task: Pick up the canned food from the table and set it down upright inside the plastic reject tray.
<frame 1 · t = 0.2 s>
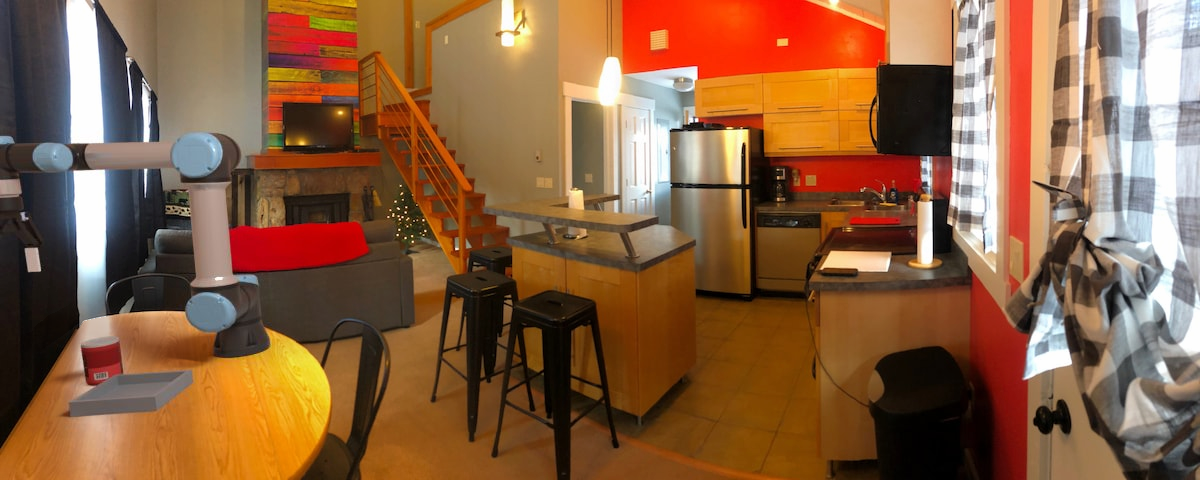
hand: (14, 276, 165), 28 cm above the table, fingers open, 13 cm apart
canned food: (105, 381, 166), on the table
reject tray: (136, 398, 154), on the table
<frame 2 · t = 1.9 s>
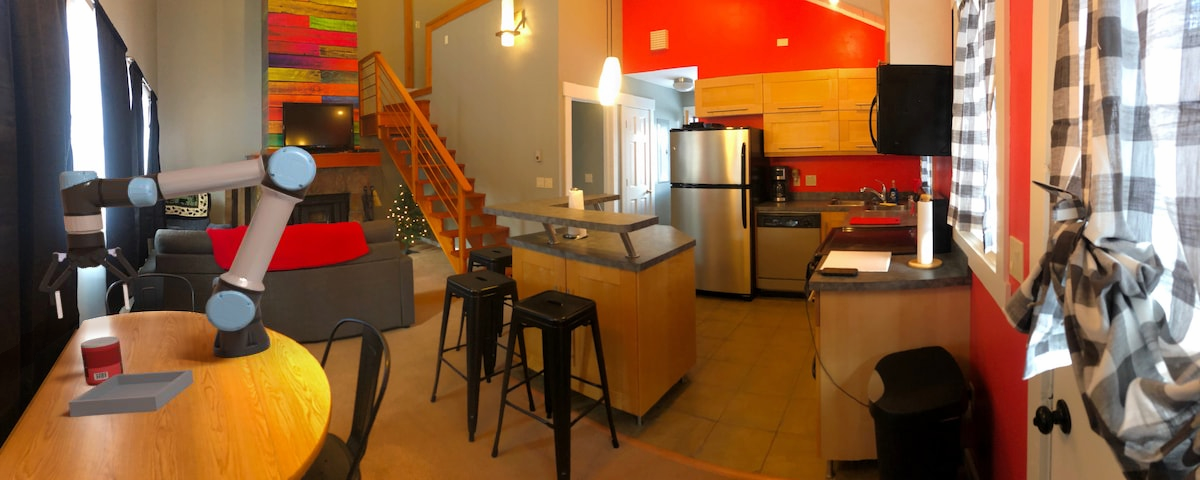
hand: (94, 312, 163), 19 cm above the table, fingers open, 13 cm apart
nothing on the table moved.
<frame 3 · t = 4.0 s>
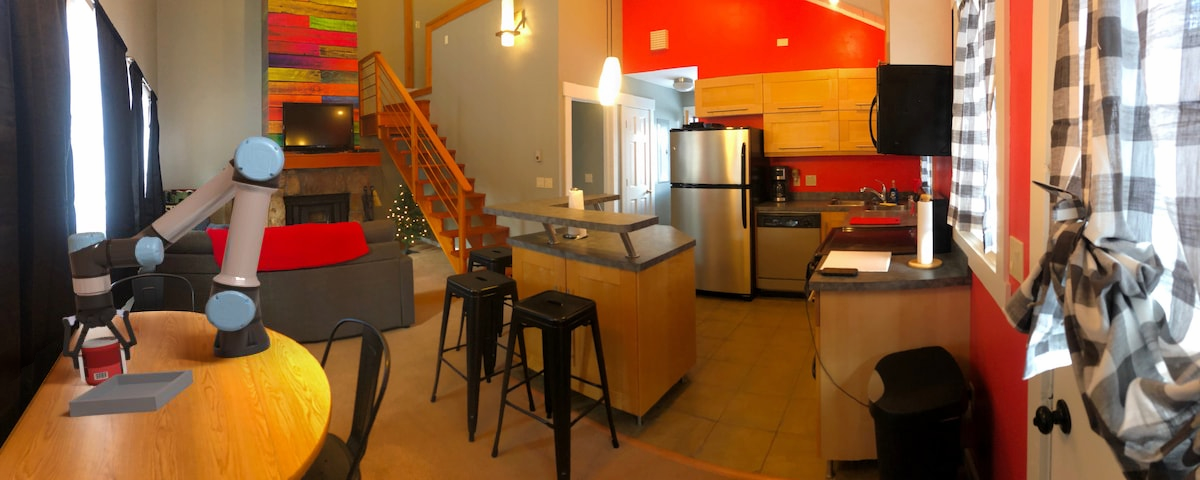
hand: (104, 376, 166), 1 cm above the table, fingers closed on canned food, 8 cm apart
canned food: (105, 381, 166), on the table, touching gripper
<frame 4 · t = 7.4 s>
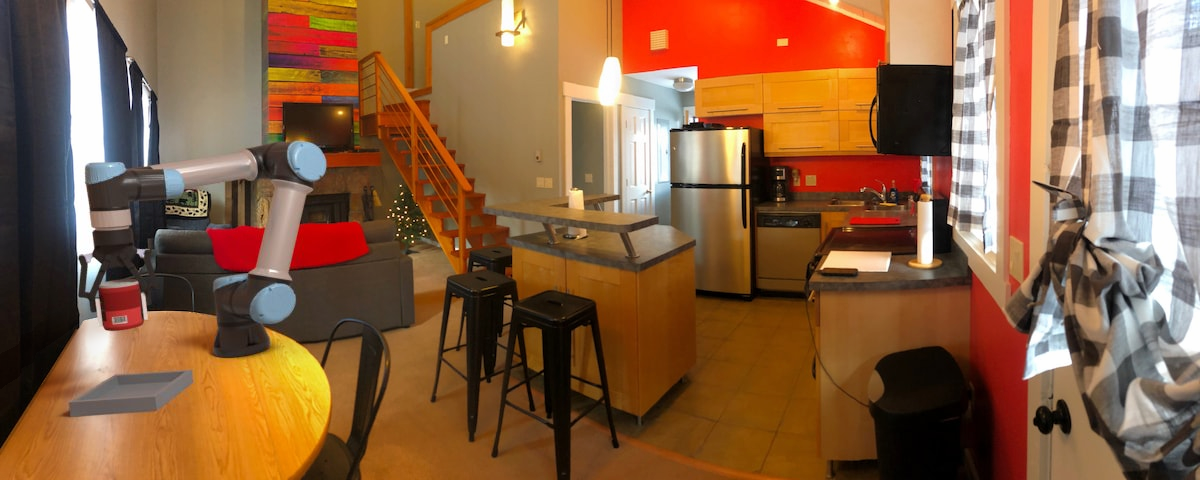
hand: (123, 321, 151), 19 cm above the table, fingers closed on canned food, 8 cm apart
canned food: (124, 327, 151), point 18 cm above the table, touching gripper
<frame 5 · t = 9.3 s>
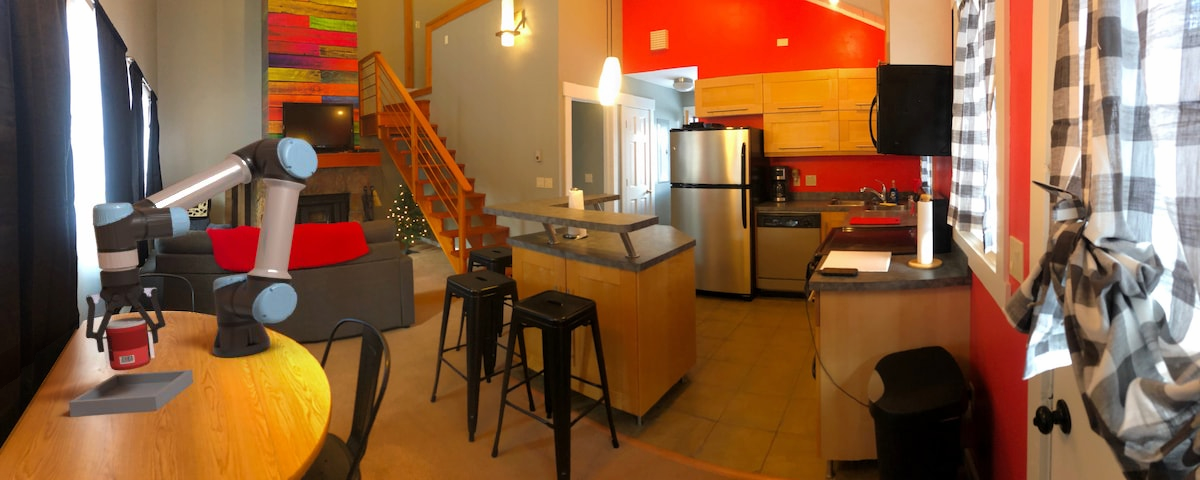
hand: (130, 360, 152), 10 cm above the table, fingers closed on canned food, 8 cm apart
canned food: (131, 366, 152), point 8 cm above the table, touching gripper
when the fingers open (4 cm above the table, at t = 10.8 s): canned food drops 2 cm, resting on reject tray.
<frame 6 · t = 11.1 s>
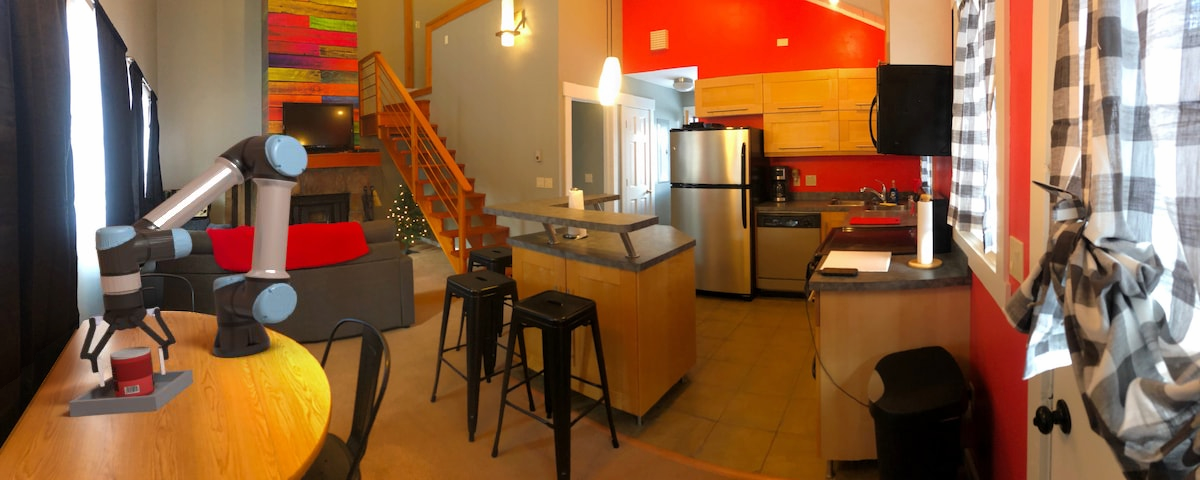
hand: (133, 378, 153), 5 cm above the table, fingers open, 11 cm apart
canned food: (135, 395, 153), point 1 cm above the table, touching reject tray
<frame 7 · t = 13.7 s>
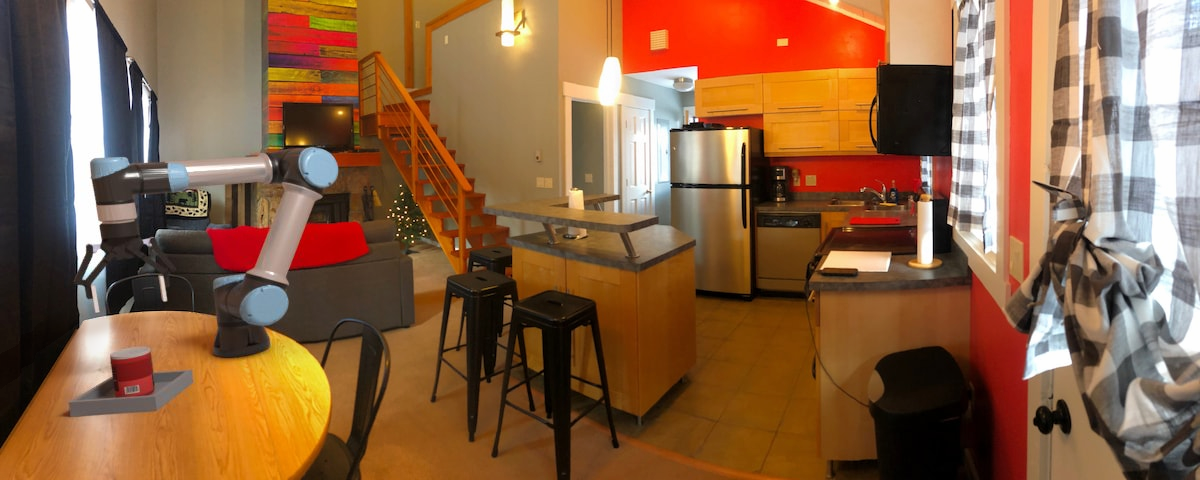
hand: (131, 305, 156), 22 cm above the table, fingers open, 13 cm apart
nothing on the table moved.
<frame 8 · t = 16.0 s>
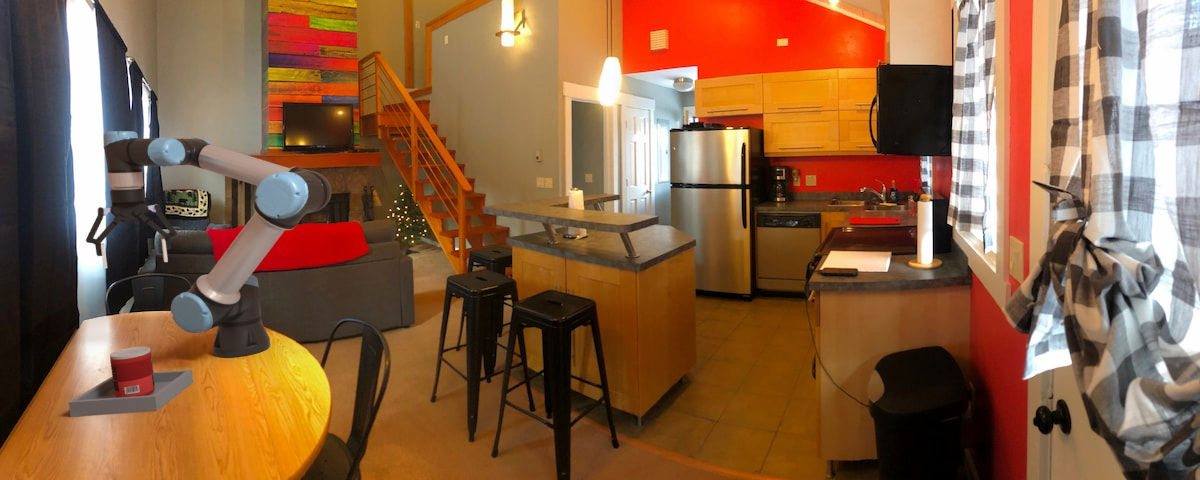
hand: (136, 264, 175), 29 cm above the table, fingers open, 13 cm apart
nothing on the table moved.
at the end: canned food inside the target area on the reject tray (0.0 cm from its centre), point 0.8 cm above the reject tray's base; canned food tilted 0°; the gripper is holding nothing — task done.
